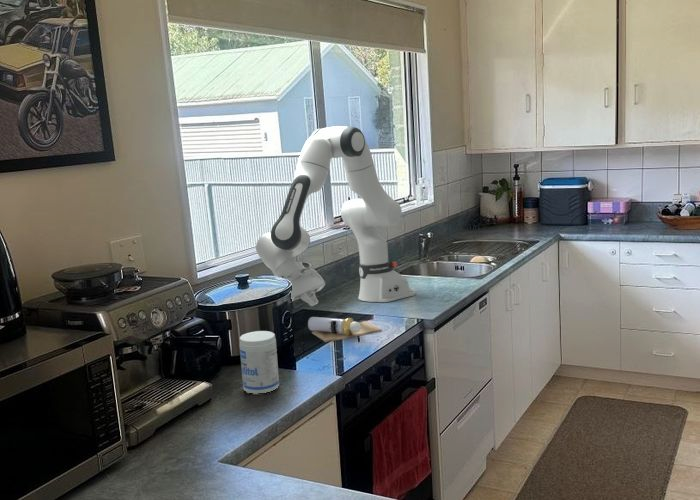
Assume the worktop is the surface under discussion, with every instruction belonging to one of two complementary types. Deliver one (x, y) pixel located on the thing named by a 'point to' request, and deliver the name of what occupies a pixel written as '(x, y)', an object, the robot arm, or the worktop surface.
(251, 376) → the supplement tub
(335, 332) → the perfume bottle
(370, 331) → the mat
